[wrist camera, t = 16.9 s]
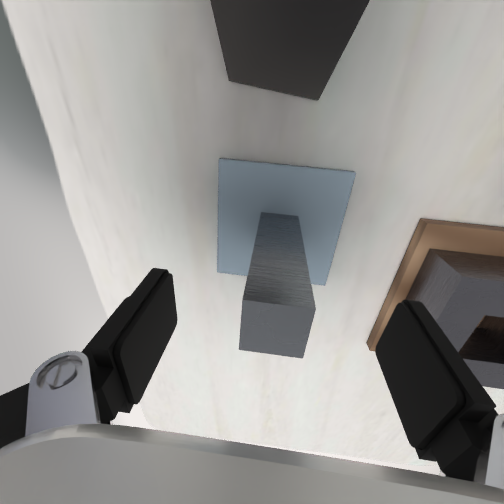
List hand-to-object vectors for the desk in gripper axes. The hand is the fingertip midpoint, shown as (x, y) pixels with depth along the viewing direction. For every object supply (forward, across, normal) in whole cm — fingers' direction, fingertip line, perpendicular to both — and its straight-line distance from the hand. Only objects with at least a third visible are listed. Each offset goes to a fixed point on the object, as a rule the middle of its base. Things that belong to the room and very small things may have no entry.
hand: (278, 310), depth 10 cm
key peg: (+11, 0, +1) cm, 11 cm away
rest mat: (+11, 0, +1) cm, 11 cm away
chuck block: (+11, -17, +6) cm, 21 cm away
